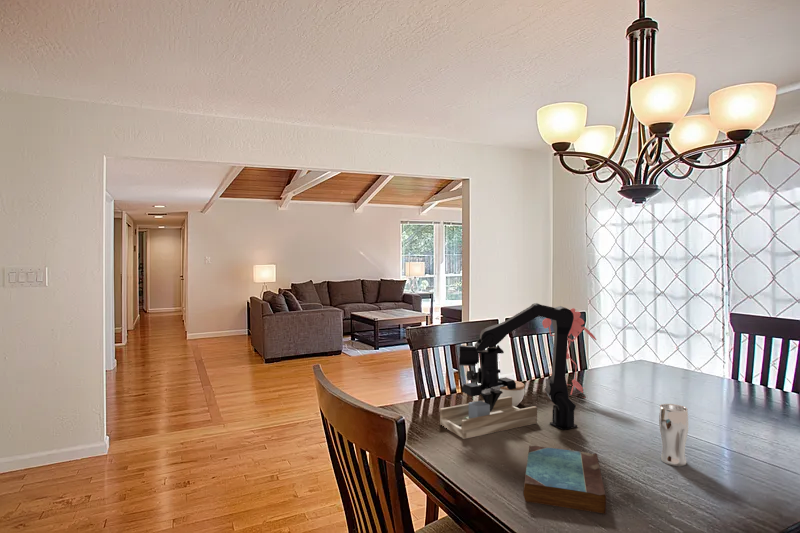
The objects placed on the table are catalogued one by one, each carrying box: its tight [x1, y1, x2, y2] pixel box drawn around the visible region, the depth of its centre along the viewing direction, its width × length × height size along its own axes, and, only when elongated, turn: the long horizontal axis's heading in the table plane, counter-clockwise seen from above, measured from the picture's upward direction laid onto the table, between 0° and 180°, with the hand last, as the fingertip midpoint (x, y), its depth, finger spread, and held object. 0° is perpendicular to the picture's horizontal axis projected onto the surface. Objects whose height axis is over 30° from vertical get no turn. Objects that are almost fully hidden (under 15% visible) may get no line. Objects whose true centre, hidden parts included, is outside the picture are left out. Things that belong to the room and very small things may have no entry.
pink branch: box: [541, 307, 597, 399], centre depth 199 cm, size 15×26×35 cm, turn 38°
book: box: [523, 445, 607, 515], centre depth 116 cm, size 23×18×5 cm
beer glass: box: [658, 403, 689, 467], centre depth 129 cm, size 7×7×15 cm
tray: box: [439, 396, 538, 440], centre depth 159 cm, size 14×30×6 cm, turn 117°
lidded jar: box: [499, 380, 526, 407], centre depth 181 cm, size 11×11×9 cm
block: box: [468, 400, 490, 418], centre depth 157 cm, size 5×5×5 cm
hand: (489, 411), depth 159 cm, fingers closed
